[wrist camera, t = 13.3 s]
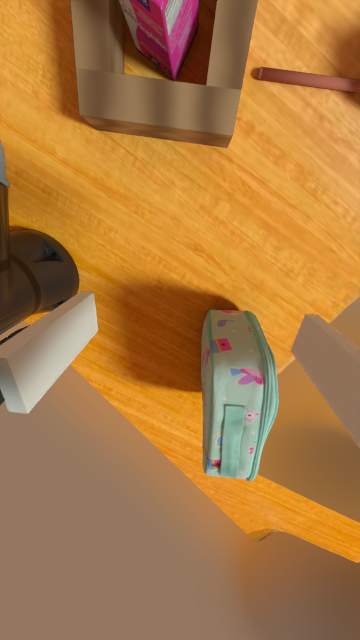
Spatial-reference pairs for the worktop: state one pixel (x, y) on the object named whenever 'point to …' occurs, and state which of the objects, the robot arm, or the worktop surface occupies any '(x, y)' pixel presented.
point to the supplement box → (163, 30)
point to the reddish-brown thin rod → (308, 79)
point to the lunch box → (236, 393)
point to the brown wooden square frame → (156, 94)
